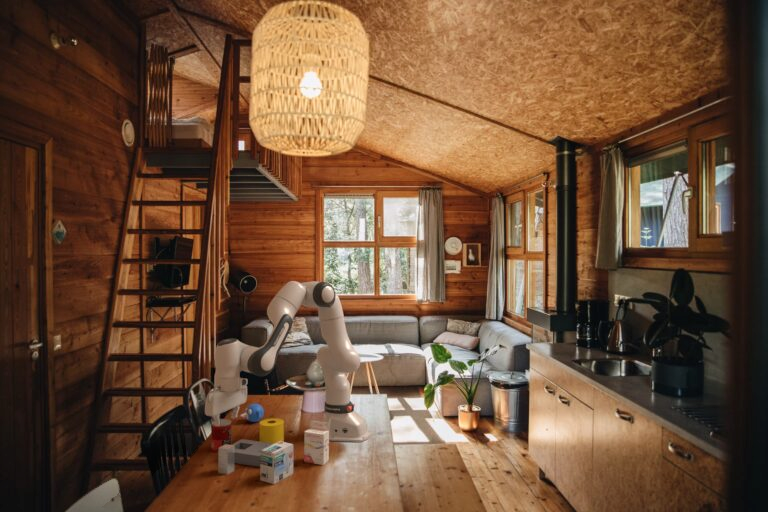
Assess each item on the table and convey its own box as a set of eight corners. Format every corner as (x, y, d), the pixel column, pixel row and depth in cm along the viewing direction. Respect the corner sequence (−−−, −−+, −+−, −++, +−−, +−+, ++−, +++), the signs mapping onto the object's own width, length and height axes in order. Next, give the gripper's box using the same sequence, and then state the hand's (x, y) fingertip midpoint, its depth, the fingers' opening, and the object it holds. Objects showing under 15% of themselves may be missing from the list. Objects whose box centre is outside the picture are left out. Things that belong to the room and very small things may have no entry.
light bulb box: (273, 485, 166) (274, 453, 167) (259, 480, 170) (259, 449, 170) (294, 473, 176) (294, 443, 176) (280, 469, 179) (280, 440, 179)
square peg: (234, 470, 179) (234, 445, 179) (227, 474, 175) (227, 449, 175) (225, 468, 180) (225, 444, 180) (218, 473, 176) (218, 448, 176)
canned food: (225, 453, 195) (225, 425, 195) (207, 451, 197) (207, 424, 197) (234, 446, 202) (235, 419, 203) (217, 444, 204) (217, 418, 204)
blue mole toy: (233, 422, 234) (234, 404, 234) (256, 416, 242) (256, 399, 242) (245, 428, 225) (245, 409, 225) (268, 422, 233) (268, 405, 233)
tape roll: (272, 438, 211) (272, 416, 212) (288, 443, 206) (288, 421, 206) (254, 445, 203) (254, 422, 203) (270, 450, 197) (270, 427, 198)
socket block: (284, 455, 193) (284, 444, 193) (266, 467, 180) (266, 457, 181) (241, 448, 199) (241, 439, 199) (221, 460, 187) (221, 450, 187)
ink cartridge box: (303, 462, 186) (303, 423, 186) (309, 457, 190) (309, 419, 191) (323, 465, 183) (323, 426, 183) (329, 460, 187) (329, 422, 188)
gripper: (215, 391, 167) (215, 431, 167) (250, 378, 186) (249, 414, 186) (200, 389, 169) (199, 429, 169) (236, 377, 188) (235, 413, 188)
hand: (226, 421), depth 178 cm, fingers open, 8 cm apart
